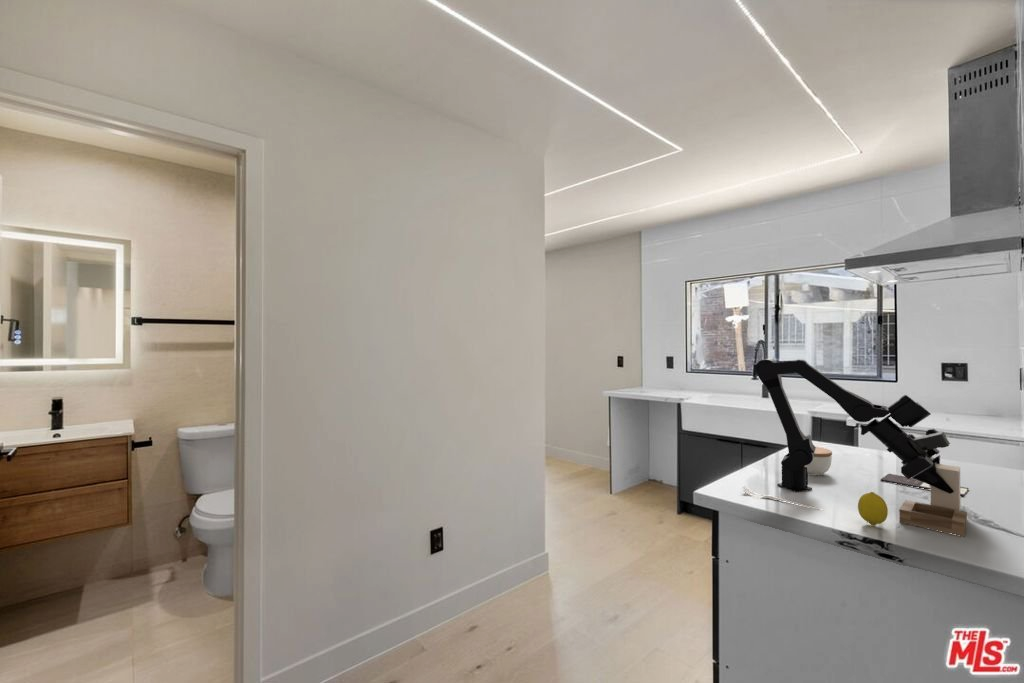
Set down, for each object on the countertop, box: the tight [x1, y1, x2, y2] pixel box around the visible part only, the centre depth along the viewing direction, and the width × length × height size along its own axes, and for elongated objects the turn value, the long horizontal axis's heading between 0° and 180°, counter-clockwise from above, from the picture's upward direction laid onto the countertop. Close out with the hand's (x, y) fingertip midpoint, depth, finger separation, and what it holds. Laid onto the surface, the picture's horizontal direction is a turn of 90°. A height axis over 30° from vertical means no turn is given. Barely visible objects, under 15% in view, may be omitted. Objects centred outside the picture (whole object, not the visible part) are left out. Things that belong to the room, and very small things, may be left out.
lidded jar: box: [804, 446, 833, 477], centre depth 147 cm, size 11×11×9 cm
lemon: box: [857, 491, 889, 527], centre depth 106 cm, size 6×6×8 cm
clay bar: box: [930, 463, 962, 511], centre depth 112 cm, size 5×5×12 cm
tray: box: [899, 499, 968, 538], centre depth 107 cm, size 9×11×3 cm
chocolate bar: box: [880, 473, 969, 497], centre depth 133 cm, size 9×1×18 cm
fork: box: [740, 486, 821, 511], centre depth 123 cm, size 3×20×2 cm, turn 44°
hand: (953, 489), depth 111 cm, fingers closed on clay bar, 5 cm apart
